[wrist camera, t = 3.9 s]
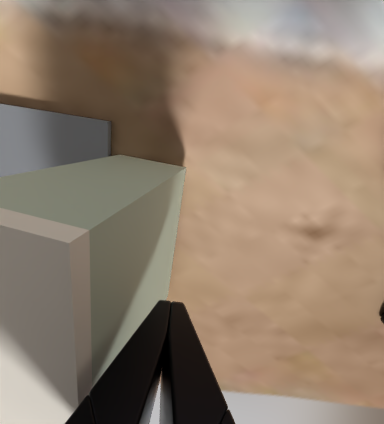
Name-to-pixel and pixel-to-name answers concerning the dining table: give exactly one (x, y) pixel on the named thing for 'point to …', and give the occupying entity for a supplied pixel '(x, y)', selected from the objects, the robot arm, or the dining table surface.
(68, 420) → the robot arm
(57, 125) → the mat
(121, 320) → the slab
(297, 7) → the dining table surface
